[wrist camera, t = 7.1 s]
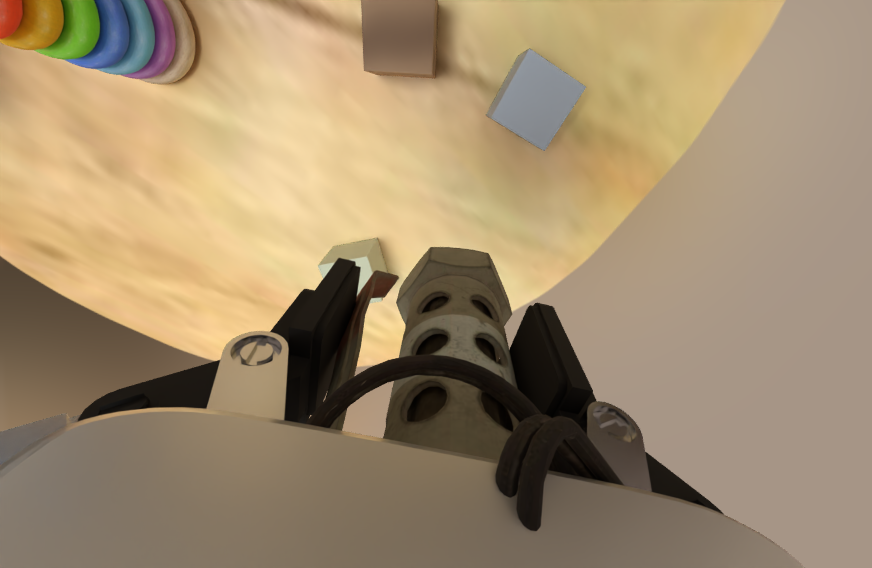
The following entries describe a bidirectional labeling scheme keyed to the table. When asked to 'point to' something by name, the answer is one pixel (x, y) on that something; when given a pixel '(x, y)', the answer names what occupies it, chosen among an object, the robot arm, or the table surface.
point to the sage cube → (357, 260)
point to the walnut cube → (400, 37)
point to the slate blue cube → (535, 99)
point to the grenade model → (460, 380)
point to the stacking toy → (105, 35)
